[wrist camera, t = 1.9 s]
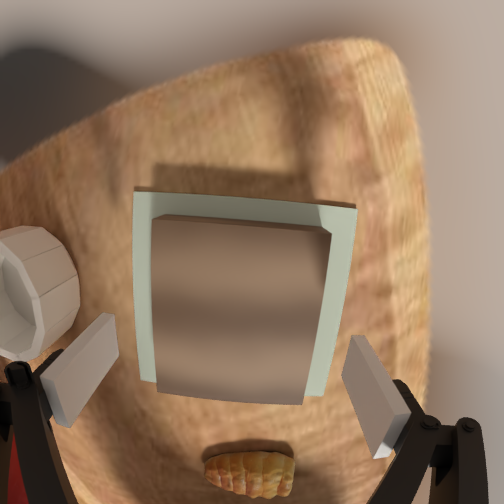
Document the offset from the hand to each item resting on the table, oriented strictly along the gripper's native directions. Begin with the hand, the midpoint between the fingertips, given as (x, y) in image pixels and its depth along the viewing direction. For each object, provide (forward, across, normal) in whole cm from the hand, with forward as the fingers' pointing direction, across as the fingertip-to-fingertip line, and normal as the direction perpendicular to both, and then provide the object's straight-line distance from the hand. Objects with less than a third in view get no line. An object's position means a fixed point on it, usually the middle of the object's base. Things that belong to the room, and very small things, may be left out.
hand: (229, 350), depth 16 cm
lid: (+7, 0, 0) cm, 7 cm away
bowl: (+7, +18, 0) cm, 19 cm away
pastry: (+7, -3, +20) cm, 21 cm away
